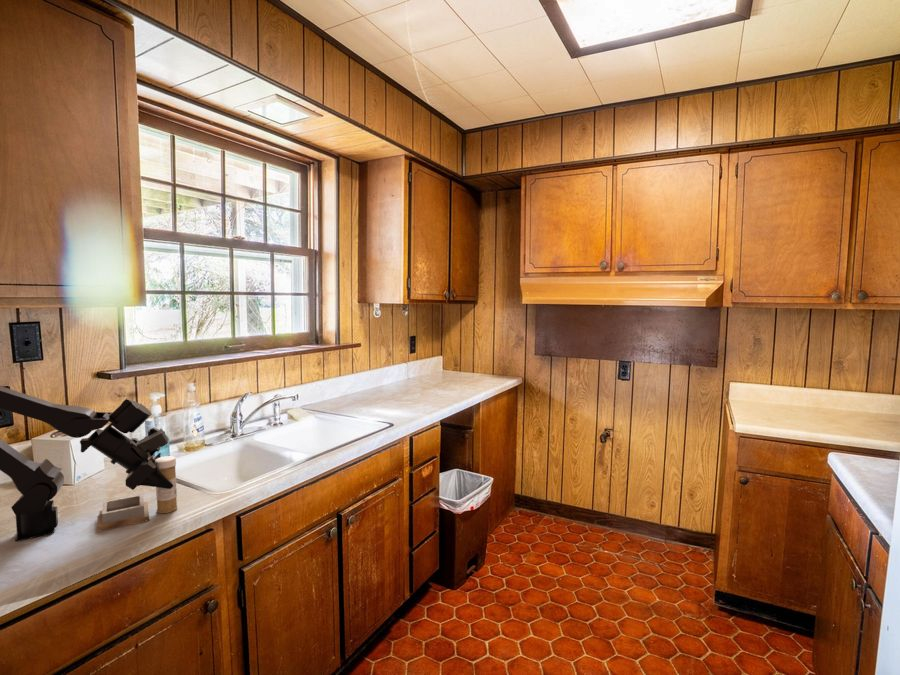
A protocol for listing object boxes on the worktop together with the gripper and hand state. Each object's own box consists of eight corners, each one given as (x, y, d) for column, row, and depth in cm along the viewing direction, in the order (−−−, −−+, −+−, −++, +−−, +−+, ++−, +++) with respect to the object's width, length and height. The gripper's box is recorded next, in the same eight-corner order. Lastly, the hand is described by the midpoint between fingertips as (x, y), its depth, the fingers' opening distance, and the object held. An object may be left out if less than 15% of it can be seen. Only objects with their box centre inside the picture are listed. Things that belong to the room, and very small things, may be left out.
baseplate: (97, 531, 109) (97, 527, 109) (99, 514, 117) (99, 510, 117) (149, 520, 115) (149, 516, 114) (147, 505, 123) (147, 501, 123)
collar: (102, 524, 110) (102, 514, 110) (103, 511, 117) (103, 501, 117) (144, 515, 115) (144, 505, 115) (143, 503, 121) (143, 494, 121)
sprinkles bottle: (162, 506, 122) (160, 455, 121) (180, 505, 123) (179, 455, 122) (153, 514, 118) (150, 461, 117) (172, 513, 118) (170, 461, 117)
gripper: (140, 431, 108) (196, 470, 114) (149, 413, 125) (197, 448, 131) (99, 470, 105) (159, 508, 111) (114, 446, 122) (165, 480, 128)
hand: (172, 483), depth 120 cm, fingers closed on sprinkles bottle, 4 cm apart
